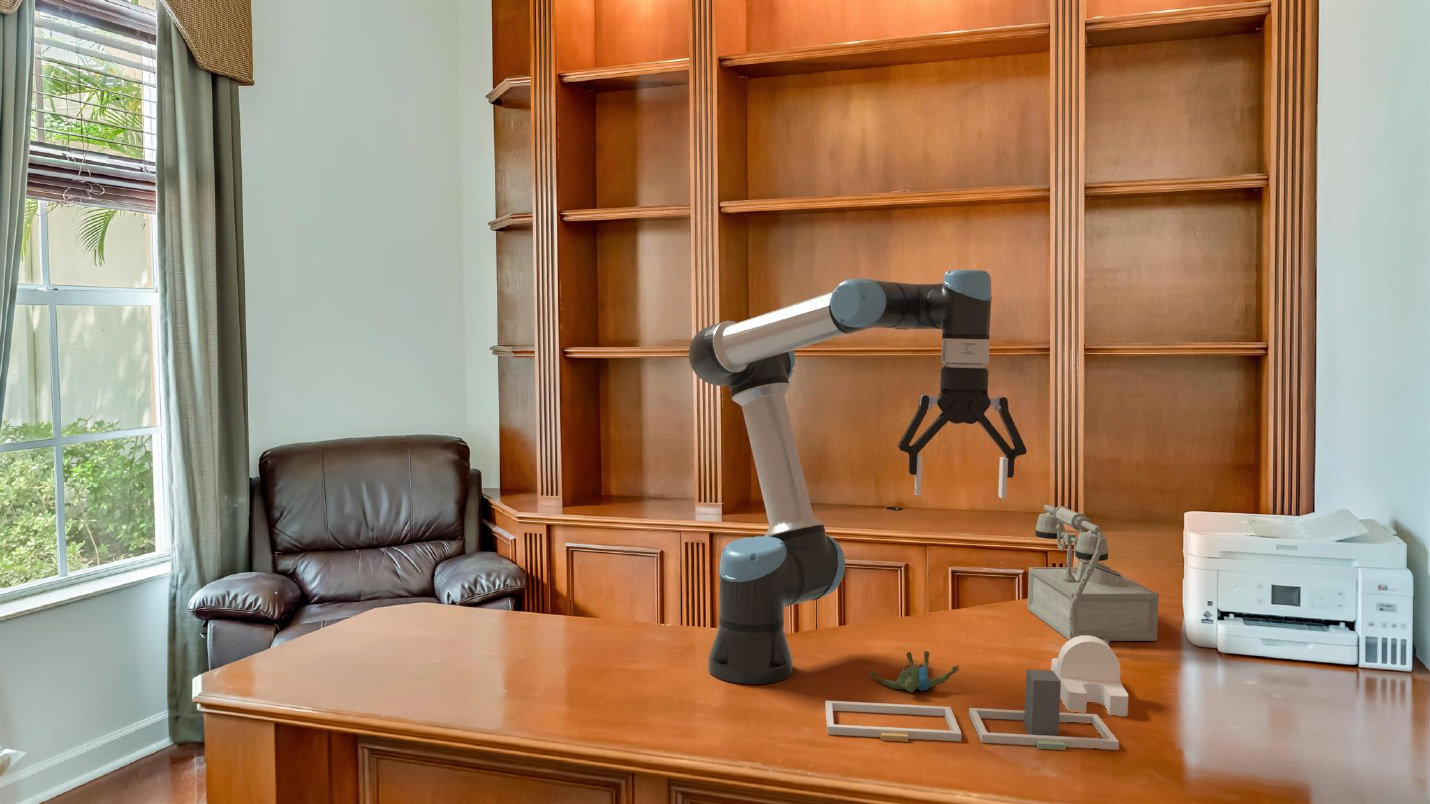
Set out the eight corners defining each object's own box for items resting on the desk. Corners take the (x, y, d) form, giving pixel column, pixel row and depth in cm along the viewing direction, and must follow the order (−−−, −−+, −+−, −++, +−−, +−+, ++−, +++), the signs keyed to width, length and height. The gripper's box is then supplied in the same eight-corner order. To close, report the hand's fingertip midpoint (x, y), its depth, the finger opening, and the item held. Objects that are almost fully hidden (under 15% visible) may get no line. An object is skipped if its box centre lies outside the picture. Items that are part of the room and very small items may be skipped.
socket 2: (982, 745, 149) (983, 738, 149) (968, 715, 161) (969, 707, 161) (1121, 753, 147) (1121, 745, 147) (1096, 721, 159) (1097, 714, 159)
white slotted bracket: (1066, 713, 163) (1069, 652, 163) (1049, 677, 181) (1052, 621, 180) (1128, 718, 162) (1131, 656, 161) (1105, 681, 179) (1108, 625, 179)
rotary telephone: (1173, 652, 197) (1179, 526, 195) (1071, 652, 195) (1076, 525, 194) (1101, 608, 229) (1106, 499, 227) (1013, 607, 228) (1017, 498, 226)
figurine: (960, 647, 183) (956, 674, 165) (963, 668, 182) (959, 698, 165) (875, 652, 187) (862, 680, 170) (878, 673, 187) (865, 703, 169)
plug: (1031, 738, 152) (1033, 680, 152) (1023, 723, 158) (1025, 667, 157) (1058, 739, 152) (1060, 681, 151) (1049, 724, 158) (1051, 668, 157)
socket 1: (827, 737, 151) (827, 729, 151) (825, 707, 163) (825, 700, 163) (962, 744, 149) (962, 736, 149) (950, 714, 161) (950, 707, 161)
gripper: (889, 364, 159) (884, 497, 161) (1049, 368, 157) (1043, 502, 159) (884, 363, 167) (880, 490, 168) (1037, 367, 165) (1032, 495, 166)
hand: (959, 496), depth 163 cm, fingers open, 13 cm apart
